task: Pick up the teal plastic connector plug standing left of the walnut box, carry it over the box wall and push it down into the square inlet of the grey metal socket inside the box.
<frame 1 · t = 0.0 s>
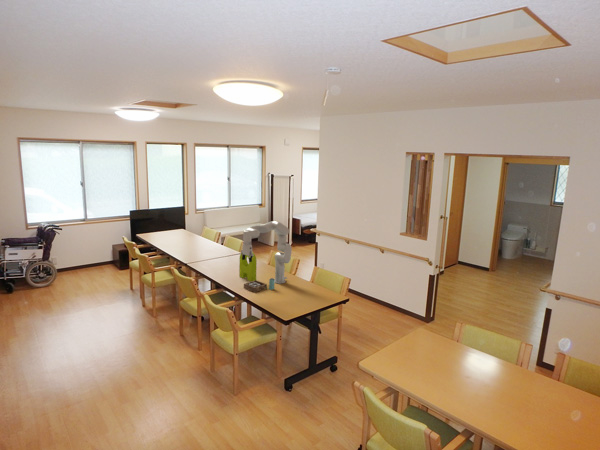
hand: (247, 260, 355), 31 cm above the table, fingers open, 9 cm apart
decorative object: (247, 278, 400), on the table
connector: (271, 289, 372), on the table
walled box: (255, 288, 372), on the table
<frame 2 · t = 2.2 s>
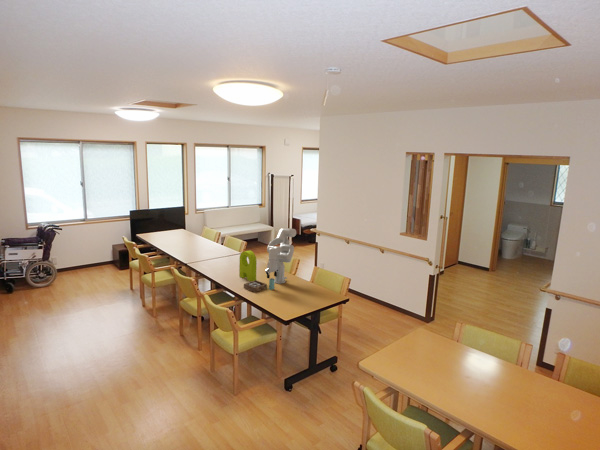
hand: (271, 277, 369), 12 cm above the table, fingers open, 9 cm apart
nothing on the table moved.
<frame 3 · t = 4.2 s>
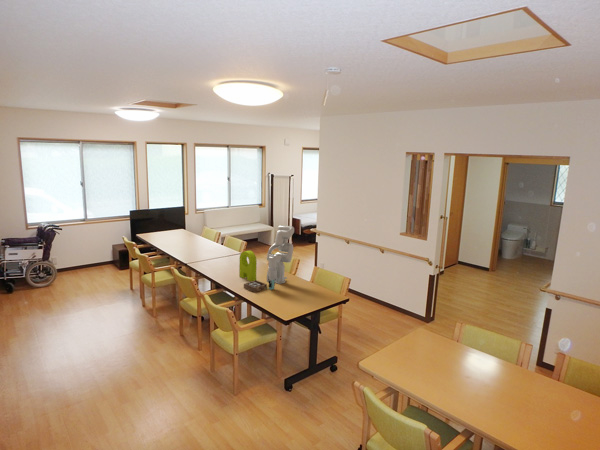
hand: (271, 286, 371), 3 cm above the table, fingers closed on connector, 3 cm apart
connector: (271, 288, 372), on the table, touching gripper
everything else where it was.
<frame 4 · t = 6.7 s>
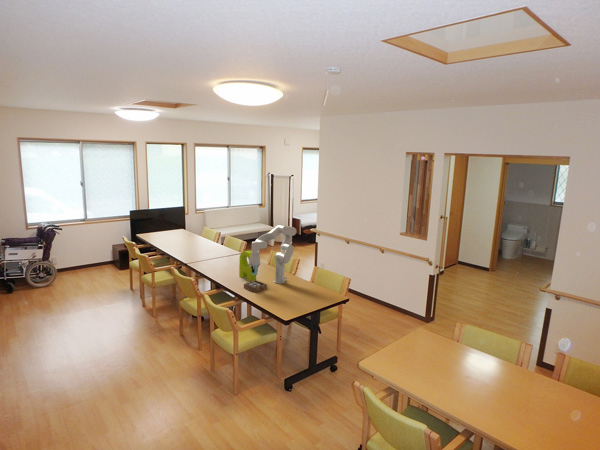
hand: (254, 271, 369), 17 cm above the table, fingers closed on connector, 3 cm apart
connector: (254, 274, 369), point 14 cm above the table, touching gripper
everything else where it was.
when the fingers open (5 cm above the table, at t = 9.2 s): connector drops 2 cm, resting on walled box.
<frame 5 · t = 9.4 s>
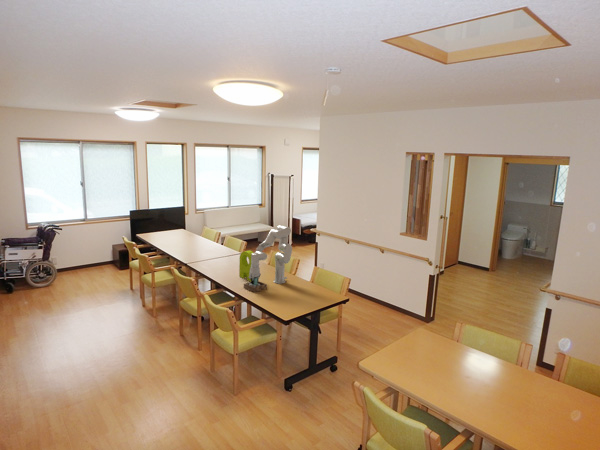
hand: (254, 282, 371), 5 cm above the table, fingers open, 5 cm apart
connector: (254, 287, 372), resting on walled box
everything else where it was.
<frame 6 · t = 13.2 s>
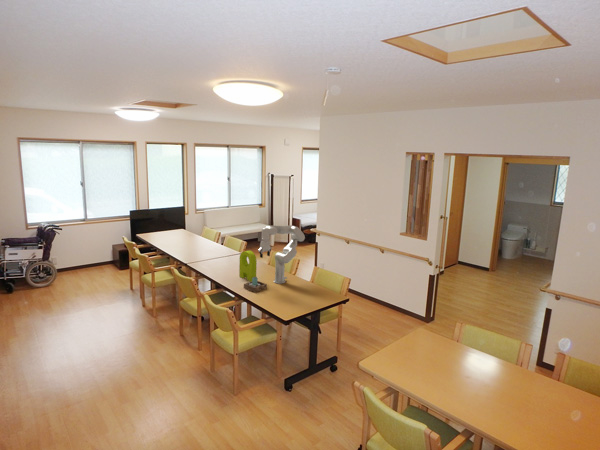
hand: (264, 256, 375), 30 cm above the table, fingers open, 9 cm apart
nothing on the table moved.
at the end: connector 0.1 cm from the target spot on the walled box, point 0.5 cm above the walled box's base; connector tilted 0°; the gripper is holding nothing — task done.
